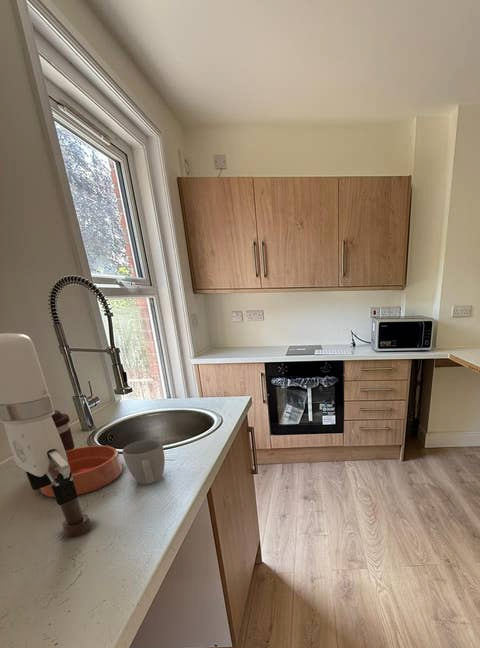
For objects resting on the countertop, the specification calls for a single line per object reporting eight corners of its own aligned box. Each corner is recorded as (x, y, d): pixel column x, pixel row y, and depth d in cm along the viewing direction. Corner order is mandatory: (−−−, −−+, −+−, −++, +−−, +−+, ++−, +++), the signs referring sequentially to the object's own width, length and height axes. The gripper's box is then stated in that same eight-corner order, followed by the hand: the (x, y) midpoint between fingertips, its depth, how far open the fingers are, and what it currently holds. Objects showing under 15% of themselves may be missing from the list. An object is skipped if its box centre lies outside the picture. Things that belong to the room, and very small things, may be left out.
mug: (130, 477, 90) (121, 444, 86) (167, 469, 94) (159, 436, 90) (133, 500, 80) (122, 463, 77) (173, 489, 84) (165, 454, 81)
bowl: (64, 507, 78) (55, 484, 76) (29, 488, 87) (20, 466, 84) (136, 473, 92) (131, 453, 90) (100, 459, 100) (94, 440, 98)
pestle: (71, 542, 67) (53, 494, 63) (63, 534, 70) (44, 487, 65) (96, 530, 71) (80, 484, 66) (87, 522, 73) (71, 477, 69)
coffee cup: (49, 475, 92) (29, 423, 86) (33, 466, 97) (14, 416, 91) (89, 460, 100) (73, 411, 94) (72, 453, 105) (56, 405, 99)
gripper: (-23, 406, 61) (11, 490, 67) (21, 425, 53) (55, 518, 59) (28, 395, 67) (54, 473, 73) (75, 411, 59) (100, 497, 65)
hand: (54, 493), depth 66 cm, fingers open, 9 cm apart
